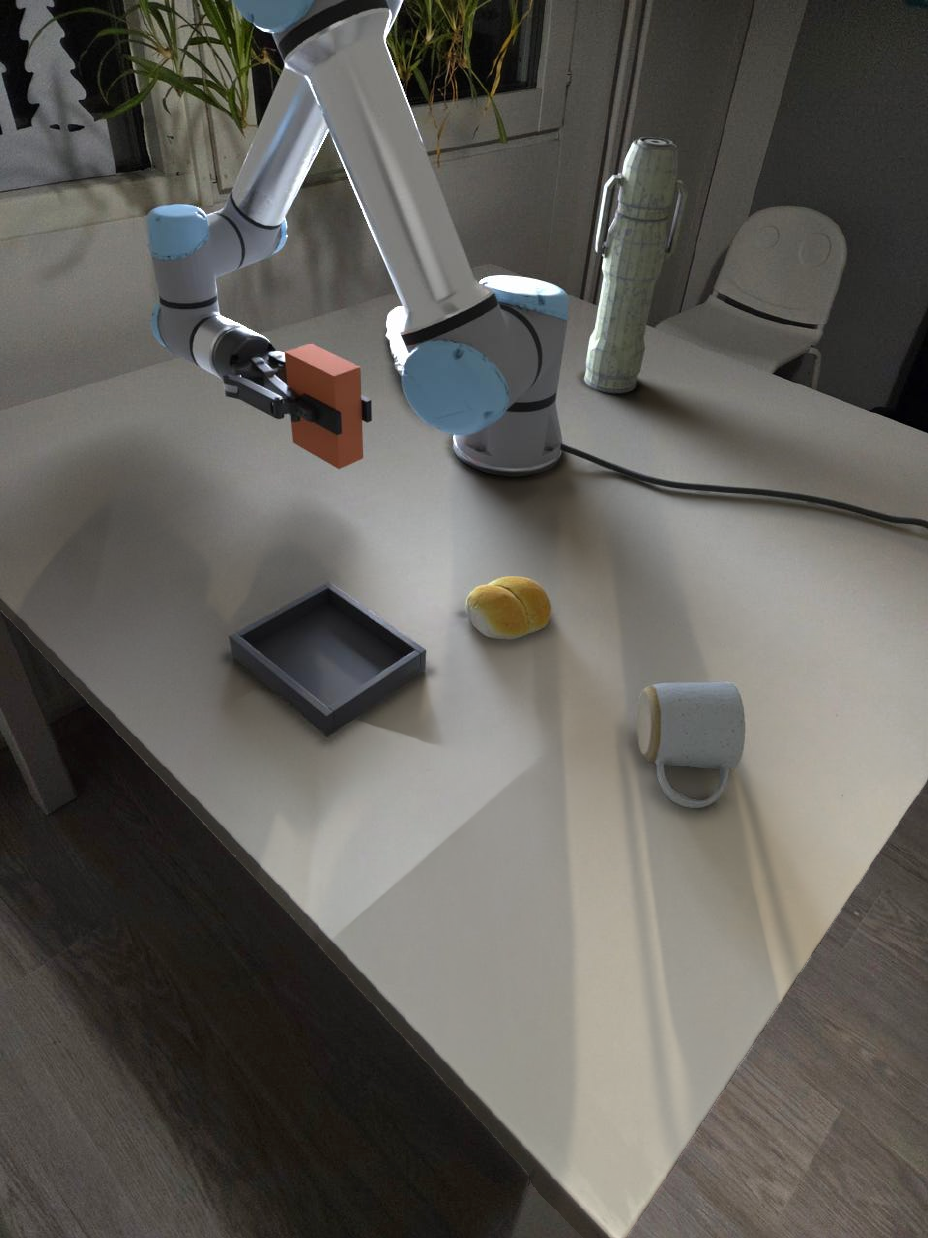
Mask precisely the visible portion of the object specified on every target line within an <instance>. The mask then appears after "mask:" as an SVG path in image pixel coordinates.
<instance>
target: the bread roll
mask: <svg viewBox="0 0 928 1238" xmlns="http://www.w3.org/2000/svg"><path fill="white" fill-rule="evenodd" d="M551 614H552V604H551V601H550V598H549V595H548V593H547V591H546V590H545V589H544V588H543V587H542V586H541V585H540V584H539V583H538V582H537V581H535V580H533V579H532V578H528V577H525V576H501V577H498V578H496V579H494V580H492V581H490V582H489V583H488V584H481V585H477V586H476V587H474V589H473V590H472V591H470V592H469V594H468V595H467V598H466V601H465V615H466V617H467V619H468V620H469V621H470V623H471V624H472V626H473V627H474V628H475V629H476V630H477V631H478V632H480V634H482V635H484V636H485V637H488V638H491V639H497V640H515V639H518V638H521V637H524V636H527V635H529V634H530V633H535V632H537V631H539V630H542V629H543V628H545V627H546V626H547V625H548V624H549V622H550V620H551Z"/></svg>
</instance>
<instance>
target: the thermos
mask: <svg viewBox="0 0 928 1238" xmlns="http://www.w3.org/2000/svg"><path fill="white" fill-rule="evenodd" d="M678 156H679V155H678V147H677V145H676V144H674V142H673V141H672V140H670V139H666V138H661V137H654V136H643V137H642V136H641V137H638V139H635V140H633V141H632V143H631V145H630V148H629V150H628V152H627V154H626V157H625V159H624V160H623V166H622V172H618V173H617V174H612V175H611V176H610V177H609V179H608V180H607V181H606V182H605V184H604V186H603V192H602V199H601V205H600V210H599V211H600V212H599V218H598V223H597V230H596V237H595V250H594V251H595V252H596V254H600V255H601V256H602V257H603V258H602V265H601V269H602V275H603V279H602V285H601V291H600V297H599V301H598V308H597V313H596V320H595V324H594V325H595V326H594V329H593V331H592V333H591V335H590V337H589V341H588V346H587V353H586V359H585V372H584V377H583V381H584V383H585V384H586V385H587V386H589V387H590V388H592V389H594V390H596V391H600V392H603V393H609V394H624V393H630V392H631V391H634V389H635V388H636V387H637V381H638V377H639V373H640V372H641V369H642V365H643V359H644V355H645V350H646V345H645V333H646V329H647V324H648V321H649V320H648V319H649V316H650V315H649V314H650V309H651V304H652V300H653V296H654V290H655V285H656V282H657V281H658V279H659V278H660V276H661V273H662V269H663V268H662V267H663V263H665V261H666V260H669V259H670V258H671V257H673V256H674V255H675V254H676V251H677V247H678V243H679V236H680V232H681V228H682V223H683V219H684V215H685V212H686V211H685V210H686V207H687V201H688V197H689V192H688V191H687V188H686V186H685V184H684V182H683V180H681V179H680V180H679V179H678V178H677V176H678V172H679V157H678ZM615 185H618V186H619V189H618V195H617V201H618V202H617V204H618V205H617V208H616V209H615V214H614V218H613V220H612V222H611V224H610V226H609V228H608V230H607V231H608V232H607V236H606V240H605V235H606V234H605V233H606V227H607V222H608V216H609V209H610V204H611V198H612V191H613V189H614V187H615ZM676 189H678V196H677V200H676V205H675V210H674V215H673V219H672V224H671V229H670V232H669V233H670V234H669V238H668V226H667V224H668V221H669V215H668V212H669V208H670V207H671V205H672V200H673V197H674V191H676ZM604 240H605V241H604Z"/></svg>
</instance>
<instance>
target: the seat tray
mask: <svg viewBox="0 0 928 1238" xmlns="http://www.w3.org/2000/svg"><path fill="white" fill-rule="evenodd" d="M228 639H229V645H230V650H231V656H232V658H233V659H235V660H236V661H237V662H238V663H239V664H240V665H241V666H243V667H244V668H245V669H247V671H249V672H250V673H251V674H252V675H253V676H255V677H256V678H257V679H258V680H260V682H262V683H263V685H265V686H267V687H268V688H269V689H270V690H271V691H272V692H274V693H275V694H276V695H277V696H278V697H279V698H281V699H282V700H283V701H284V702H285V703H287V704H288V705H289V706H290V707H291V708H293V709H294V710H295V711H296V712H297V713H298V714H300V715H301V716H302V717H303V718H304V719H306V720H307V721H308V722H309V723H310V724H311V725H313V726H314V727H315V728H316V729H317V730H318V731H320V732H321V733H322V734H324V735H325V736H326V737H328V738H329V737H330V736H332V735H333V734H335V733H336V732H337V731H339V730H340V729H342V728H343V727H345V726H346V725H347V724H349V723H351V722H352V721H354V720H356V718H358V717H359V716H361V715H362V714H364V713H365V712H367V711H368V710H370V709H371V708H372V707H374V706H376V705H378V703H380V702H381V701H383V700H384V699H386V698H387V697H388V696H390V695H392V694H393V693H395V692H396V691H398V689H400V688H402V687H403V686H405V685H406V684H407V683H409V682H410V681H411V680H413V679H415V678H416V677H418V676H419V675H420V674H422V673H423V672H426V667H427V666H426V664H427V649H426V648H425V647H423V646H422V645H420V644H419V643H418V642H415V641H414V640H413V639H411V638H410V637H409V636H407V635H406V634H405V633H403V632H402V631H400V630H399V629H398V628H396V627H394V626H393V625H391V624H390V623H389V622H387V621H386V620H385V619H383V618H381V617H380V616H379V615H378V614H376V613H374V612H373V611H372V610H370V609H369V608H367V607H366V606H364V605H363V604H362V603H360V602H359V601H357V600H356V599H355V598H354V597H352V596H350V595H349V594H347V593H346V592H345V591H343V590H342V589H340V588H339V587H337V586H336V585H335V584H333V583H332V582H330V581H327V582H326V583H323V584H322V585H320V586H318V587H316V588H314V589H313V590H311V591H309V592H307V593H305V594H303V595H301V596H300V597H298V598H296V599H295V600H292V601H290V602H289V603H287V604H285V605H283V606H281V607H280V608H278V609H276V610H274V611H272V612H270V613H268V614H267V615H265V616H263V617H262V618H260V619H258V620H256V621H254V622H252V623H250V624H249V625H247V626H245V627H243V628H241V629H239V630H238V631H236V632H234V633H232V634H229V636H228Z"/></svg>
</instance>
